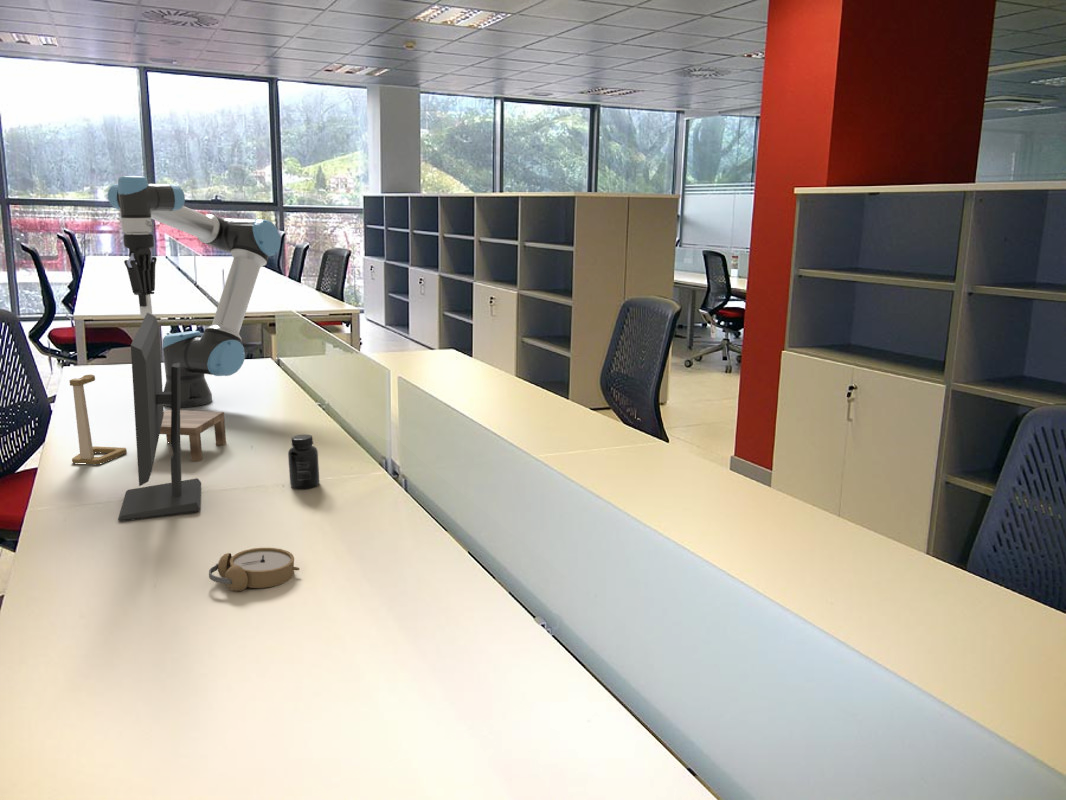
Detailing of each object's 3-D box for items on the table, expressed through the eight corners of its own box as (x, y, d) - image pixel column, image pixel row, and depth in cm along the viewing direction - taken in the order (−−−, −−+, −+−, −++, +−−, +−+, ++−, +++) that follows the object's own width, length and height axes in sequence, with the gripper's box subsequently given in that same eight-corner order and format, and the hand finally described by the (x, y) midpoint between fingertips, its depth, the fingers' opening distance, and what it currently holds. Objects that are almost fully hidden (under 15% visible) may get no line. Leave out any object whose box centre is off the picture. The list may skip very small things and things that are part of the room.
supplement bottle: (325, 482, 200) (322, 434, 197) (309, 491, 194) (306, 442, 191) (301, 478, 202) (298, 431, 199) (284, 487, 196) (281, 439, 193)
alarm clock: (304, 565, 150) (219, 571, 141) (301, 590, 150) (216, 599, 141) (284, 543, 159) (202, 548, 150) (281, 568, 159) (200, 574, 150)
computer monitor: (131, 476, 202) (112, 313, 192) (202, 469, 208) (187, 311, 198) (111, 546, 163) (86, 347, 153) (199, 536, 168) (181, 342, 158)
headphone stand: (129, 452, 220) (119, 371, 214) (104, 465, 209) (93, 381, 204) (91, 450, 221) (81, 370, 215) (65, 464, 210) (53, 379, 205)
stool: (167, 409, 228) (135, 425, 212) (223, 411, 227) (195, 428, 211) (170, 441, 230) (139, 459, 215) (226, 443, 229) (198, 461, 213)
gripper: (138, 234, 223) (147, 321, 229) (163, 232, 236) (170, 314, 242) (111, 234, 224) (121, 320, 230) (137, 232, 237) (146, 313, 242)
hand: (146, 317), depth 236 cm, fingers closed
